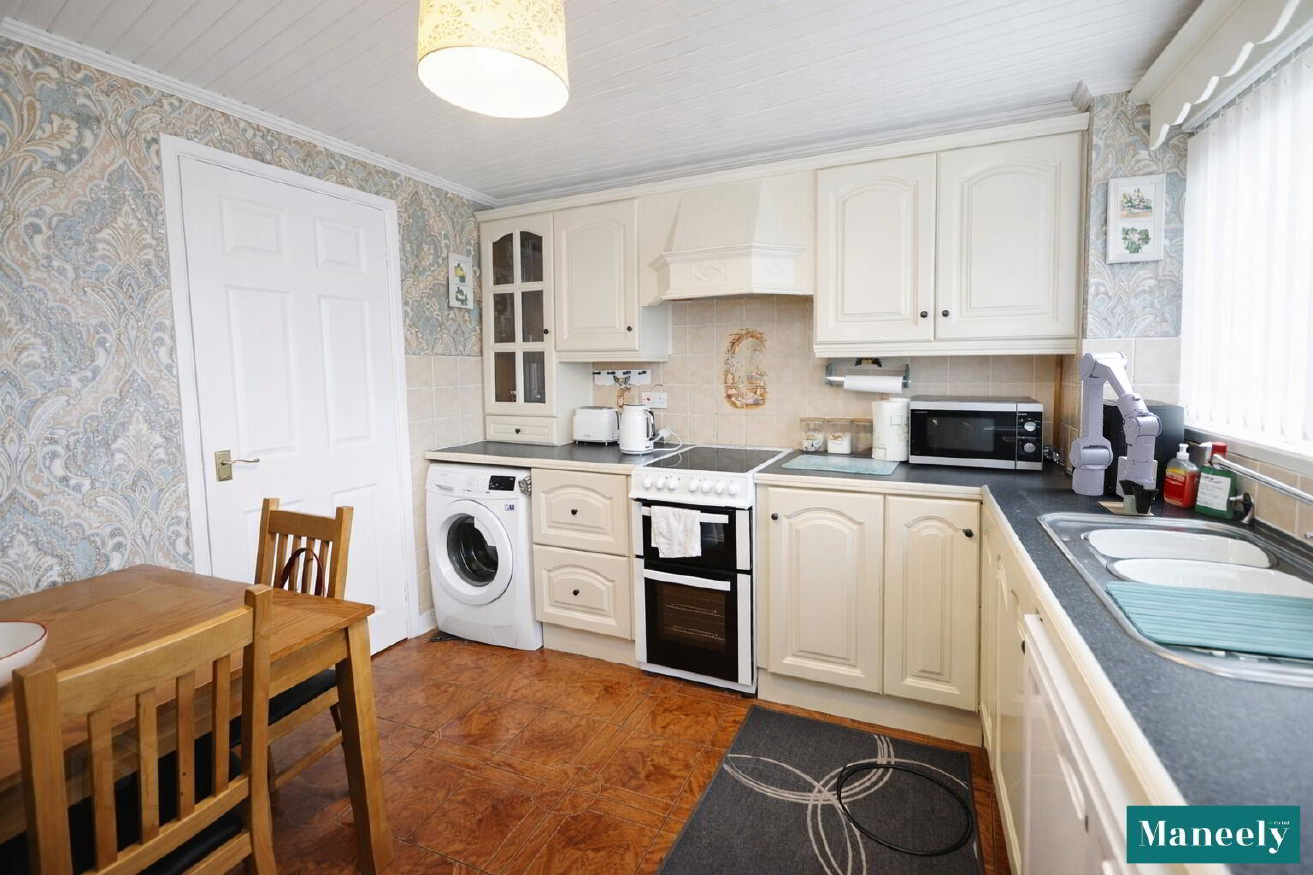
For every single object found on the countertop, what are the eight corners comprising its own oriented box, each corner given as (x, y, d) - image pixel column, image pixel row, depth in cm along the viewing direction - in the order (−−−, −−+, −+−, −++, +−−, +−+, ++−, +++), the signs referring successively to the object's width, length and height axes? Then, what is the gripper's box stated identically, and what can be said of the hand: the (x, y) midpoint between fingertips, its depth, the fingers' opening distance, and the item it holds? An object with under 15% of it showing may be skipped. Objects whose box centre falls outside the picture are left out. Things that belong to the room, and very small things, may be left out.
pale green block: (1123, 509, 175) (1124, 494, 175) (1143, 509, 174) (1144, 495, 173) (1129, 513, 171) (1130, 498, 171) (1150, 514, 170) (1151, 499, 169)
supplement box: (1125, 502, 186) (1128, 460, 184) (1115, 496, 193) (1118, 456, 191) (1155, 503, 184) (1158, 460, 182) (1143, 497, 191) (1146, 456, 189)
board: (1097, 505, 184) (1097, 501, 184) (1133, 506, 182) (1134, 502, 181) (1114, 518, 171) (1115, 513, 171) (1154, 519, 168) (1155, 515, 168)
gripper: (1112, 455, 179) (1109, 502, 181) (1132, 465, 165) (1129, 515, 167) (1142, 455, 176) (1139, 503, 178) (1165, 465, 163) (1161, 517, 165)
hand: (1136, 509), depth 172 cm, fingers open, 7 cm apart
